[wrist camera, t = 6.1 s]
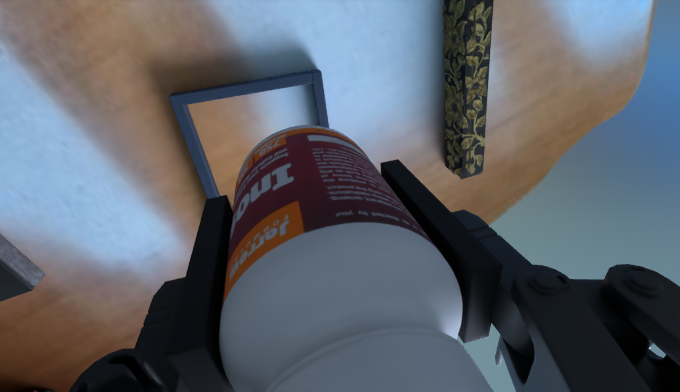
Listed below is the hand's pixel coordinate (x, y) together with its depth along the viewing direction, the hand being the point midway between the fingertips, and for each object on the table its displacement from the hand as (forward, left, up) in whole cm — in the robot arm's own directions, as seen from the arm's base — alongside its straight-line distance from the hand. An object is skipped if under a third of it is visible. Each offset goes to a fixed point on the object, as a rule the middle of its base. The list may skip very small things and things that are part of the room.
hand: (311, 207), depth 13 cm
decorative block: (+1, +16, -16) cm, 23 cm away
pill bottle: (0, 0, -2) cm, 2 cm away
